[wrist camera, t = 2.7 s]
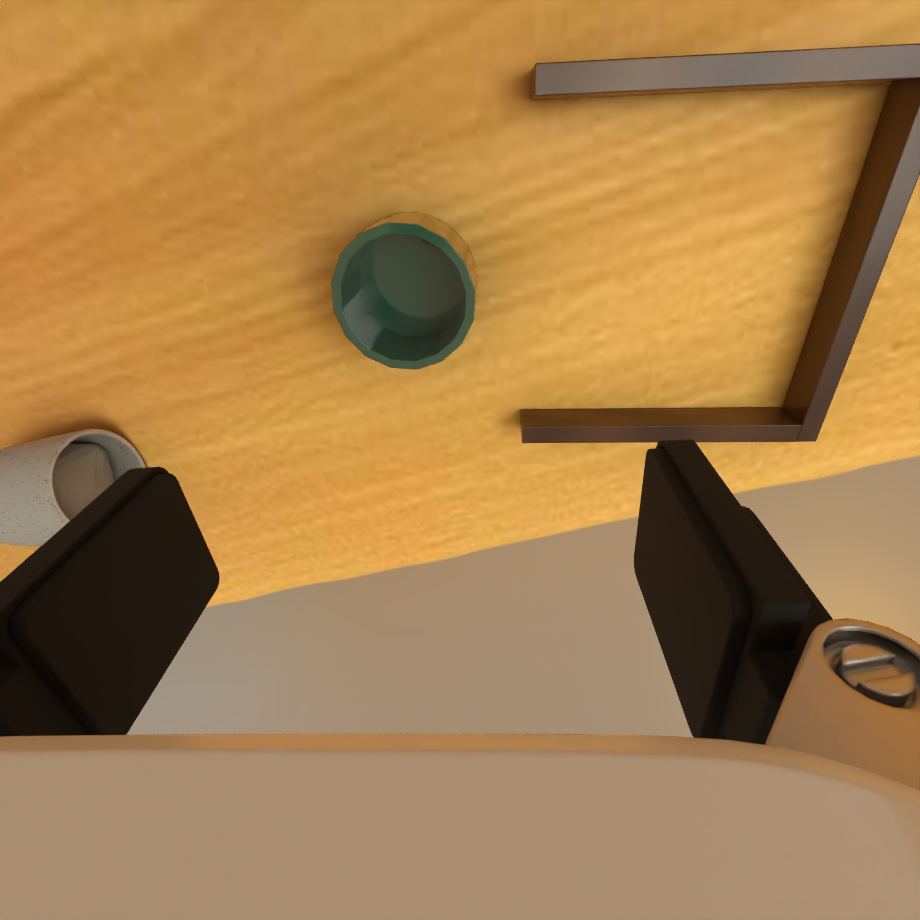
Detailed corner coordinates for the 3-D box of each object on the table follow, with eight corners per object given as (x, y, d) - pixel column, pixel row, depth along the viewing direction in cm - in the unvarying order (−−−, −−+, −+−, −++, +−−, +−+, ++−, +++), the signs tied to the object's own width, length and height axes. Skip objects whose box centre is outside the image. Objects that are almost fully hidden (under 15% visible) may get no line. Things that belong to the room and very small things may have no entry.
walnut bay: (520, 424, 35) (522, 443, 33) (531, 70, 24) (535, 63, 22) (795, 423, 34) (816, 442, 31) (928, 49, 23) (972, 40, 21)
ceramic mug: (15, 430, 37) (-85, 493, 31) (109, 407, 36) (25, 469, 29) (104, 537, 42) (35, 609, 36) (189, 521, 41) (133, 594, 35)
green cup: (327, 275, 30) (302, 294, 26) (414, 180, 27) (402, 186, 23) (414, 364, 33) (403, 394, 29) (502, 287, 30) (504, 308, 26)
